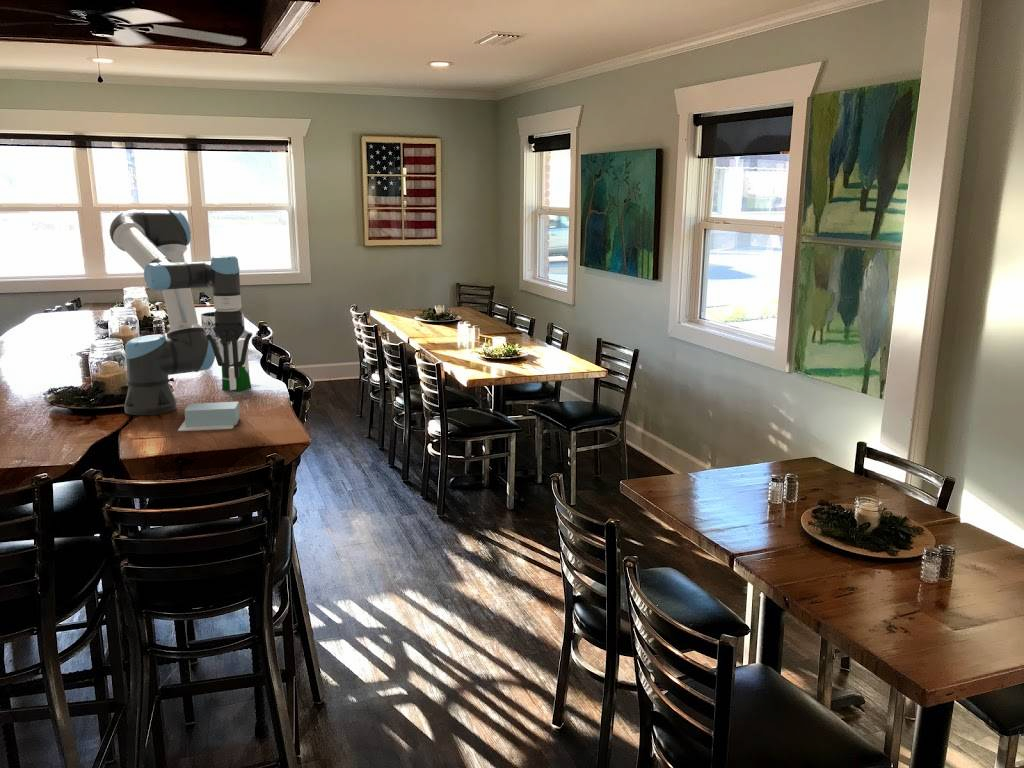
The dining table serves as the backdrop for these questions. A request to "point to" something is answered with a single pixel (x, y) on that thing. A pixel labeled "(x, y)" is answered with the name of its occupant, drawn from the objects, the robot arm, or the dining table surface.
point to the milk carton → (244, 377)
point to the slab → (212, 414)
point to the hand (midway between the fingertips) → (233, 388)
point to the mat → (184, 428)
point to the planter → (213, 324)
